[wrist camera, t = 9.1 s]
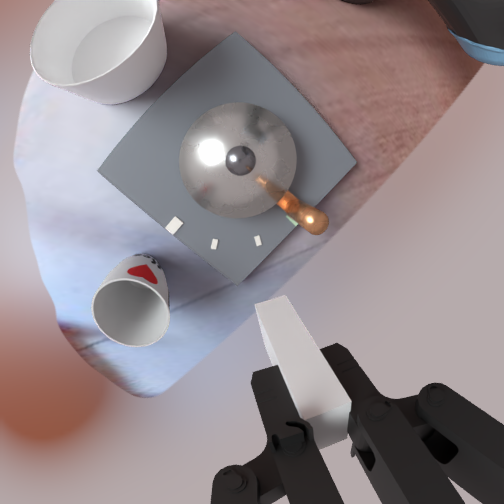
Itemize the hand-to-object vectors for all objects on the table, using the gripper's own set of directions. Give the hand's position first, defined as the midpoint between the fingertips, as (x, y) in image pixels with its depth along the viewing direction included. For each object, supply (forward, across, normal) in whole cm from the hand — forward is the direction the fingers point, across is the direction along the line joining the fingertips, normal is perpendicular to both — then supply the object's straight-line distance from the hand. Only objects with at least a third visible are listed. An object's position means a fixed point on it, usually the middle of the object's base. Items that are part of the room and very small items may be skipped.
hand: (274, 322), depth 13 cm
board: (+22, +3, +6) cm, 23 cm away
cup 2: (+23, -12, -5) cm, 26 cm away
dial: (+20, +4, +4) cm, 21 cm away
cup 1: (+23, -8, +22) cm, 32 cm away
